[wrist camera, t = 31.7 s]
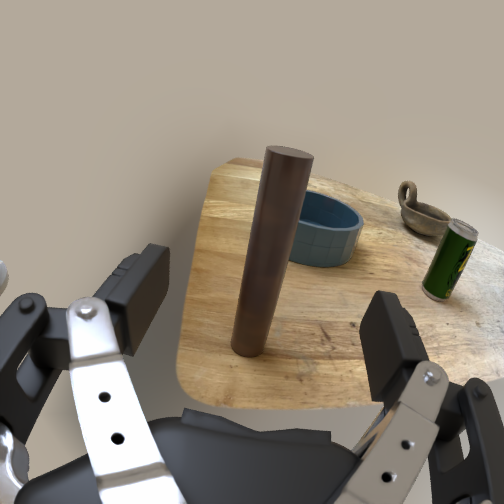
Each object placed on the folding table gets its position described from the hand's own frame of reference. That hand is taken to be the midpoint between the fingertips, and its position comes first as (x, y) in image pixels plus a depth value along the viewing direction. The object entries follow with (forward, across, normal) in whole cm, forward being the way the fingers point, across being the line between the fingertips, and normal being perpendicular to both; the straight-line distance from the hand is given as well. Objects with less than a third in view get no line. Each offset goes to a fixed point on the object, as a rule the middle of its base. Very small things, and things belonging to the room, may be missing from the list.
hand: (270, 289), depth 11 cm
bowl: (+56, -36, +15) cm, 69 cm away
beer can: (+27, -28, +15) cm, 42 cm away
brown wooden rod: (+11, 0, +15) cm, 18 cm away
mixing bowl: (+36, -7, +15) cm, 40 cm away
